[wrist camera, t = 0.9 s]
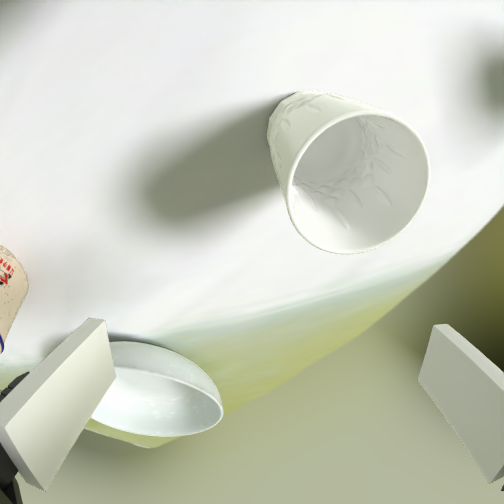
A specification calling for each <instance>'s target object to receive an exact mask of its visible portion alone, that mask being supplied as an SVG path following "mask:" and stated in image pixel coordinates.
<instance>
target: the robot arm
mask: <svg viewBox="0 0 504 504" xmlns="http://www.w3.org/2000/svg"><path fill="white" fill-rule="evenodd" d="M115 378H116V374H115V369H114V365H113V360H112V355H111V350H110V345H109V339H108V334H107V328H106V322H105V320H103V319H95V318H88V319H87V320H86V321H85V322H84V323H83V324H82V325H80V326H79V327H78V328H77V329H76V330H75V331H74V332H73V333H72V334H70V335H69V336H68V337H67V338H66V339H65V340H64V341H63V342H62V343H61V344H60V345H59V346H57V347H56V348H55V349H54V350H53V351H52V352H51V353H50V354H49V355H48V356H47V357H46V358H45V359H44V360H43V361H42V362H41V363H39V364H38V365H37V366H36V367H35V368H34V369H33V370H32V371H31V372H26V373H24V374H22V375H21V376H19V377H17V378H15V379H14V380H13V381H12V382H11V383H10V384H9V385H8V388H5V389H4V390H3V391H2V392H1V395H0V504H23V503H22V499H21V494H20V490H19V485H18V483H17V480H16V479H15V475H16V474H17V472H18V471H19V473H20V474H21V475H22V477H23V478H24V480H25V481H26V482H27V483H28V484H30V485H33V486H35V487H37V488H39V489H41V490H43V491H45V492H46V490H47V488H48V487H49V485H50V483H51V481H52V480H53V478H54V476H55V475H56V473H57V471H58V469H59V468H60V466H61V464H62V463H63V461H64V459H65V458H66V456H67V454H68V453H69V451H70V449H71V448H72V446H73V444H74V443H75V441H76V440H77V438H78V436H79V435H80V433H81V431H82V430H83V428H84V427H85V425H86V424H87V422H88V420H89V419H90V417H91V416H92V414H93V412H94V411H95V409H96V408H97V406H98V405H99V403H100V401H101V400H102V398H103V397H104V395H105V394H106V392H107V391H108V389H109V387H110V386H111V384H112V383H113V381H114V380H115ZM418 381H419V383H420V384H421V385H422V387H423V388H424V389H425V391H426V392H427V393H428V395H429V396H430V398H431V399H432V400H433V401H434V403H435V404H436V406H437V407H438V409H439V410H440V411H441V413H442V414H443V416H444V417H445V418H446V420H447V421H448V423H449V424H450V426H451V427H452V428H453V430H454V431H455V433H456V434H457V436H458V437H459V438H460V440H461V442H462V443H463V444H464V446H465V447H466V449H467V450H468V452H469V453H470V455H471V456H472V458H473V459H474V461H475V462H476V464H477V465H478V467H479V469H480V470H481V472H482V473H483V475H484V476H485V478H486V479H487V481H488V483H489V484H490V483H492V482H494V481H496V480H498V479H500V478H501V477H503V476H504V373H503V372H502V371H501V370H500V369H499V368H498V367H497V366H496V365H495V364H493V363H492V362H491V361H490V360H489V359H488V358H487V357H485V356H484V355H483V354H482V353H481V352H480V351H479V350H478V349H476V348H475V347H474V346H473V345H472V344H471V343H469V342H468V341H467V340H466V339H465V338H464V337H462V336H461V335H460V334H459V333H458V332H456V331H455V330H454V329H453V328H451V327H450V326H449V325H448V324H441V325H433V329H432V334H431V337H430V341H429V344H428V348H427V352H426V355H425V359H424V362H423V365H422V368H421V371H420V375H419V377H418ZM501 491H504V485H503V487H502V490H501Z"/></svg>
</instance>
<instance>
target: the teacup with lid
mask: <svg viewBox="0 0 504 504" xmlns="http://www.w3.org/2000/svg"><path fill="white" fill-rule="evenodd" d="M27 291H28V280H27V276H26V273H25V271H24V269H23V267H22V266H21V264H20V263H19V261H18V260H17V259H16V258H15V257H14V256H13V255H12V254H11V253H10V252H9V251H8V250H7V249H5V248H4V247H2V246H0V354H1V353H2V352H3V350H4V342H5V339H6V337H7V335H8V332H9V330H10V328H11V326H12V323H13V321H14V319H15V317H16V315H17V313H18V310H19V308H20V306H21V304H22V302H23V300H24V298H25V296H26V294H27Z"/></svg>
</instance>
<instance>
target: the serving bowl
mask: <svg viewBox="0 0 504 504" xmlns="http://www.w3.org/2000/svg"><path fill="white" fill-rule="evenodd" d="M109 345H110V350H111V355H112V360H113V365H114V369H115V374H116V378H115V380H114V381H113V383H112V384H111V386H110V387H109V389H108V391H107V392H106V394H105V395H104V397H103V398H102V400H101V401H100V403H99V405H98V406H97V408H96V409H95V411H94V412H93V414H92V416H91V417H90V418H92V419H94V420H96V421H98V422H100V423H102V424H105V425H107V426H110V427H113V428H116V429H119V430H123V431H127V432H131V433H136V434H142V435H150V436H183V435H190V434H195V433H198V432H202V431H205V430H207V429H209V428H211V427H213V426H215V425H216V424H217V423H218V422H219V421H220V420H221V419H222V417H223V406H222V402H221V398H220V395H219V392H218V390H217V388H216V386H215V384H214V383H213V381H212V380H211V378H210V377H209V376H208V375H207V374H206V373H205V372H204V371H203V370H202V369H201V368H200V367H199V366H198V365H196V364H195V363H194V362H192V361H191V360H189V359H187V358H186V357H184V356H182V355H180V354H178V353H175V352H173V351H170V350H168V349H165V348H162V347H158V346H154V345H150V344H145V343H139V342H127V341H119V342H109Z"/></svg>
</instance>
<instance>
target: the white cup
mask: <svg viewBox="0 0 504 504" xmlns="http://www.w3.org/2000/svg"><path fill="white" fill-rule="evenodd" d="M267 140H268V143H269V146H270V153H271V158H272V162H273V166H274V169H275V172H276V175H277V178H278V182H279V185H280V188H281V191H282V194H283V197H284V200H285V204H286V207H287V210H288V214H289V216H290V219H291V221H292V223H293V225H294V227H295V228H296V230H297V231H298V233H299V234H300V235H301V236H302V237H303V238H304V239H305V240H306V241H308V242H309V243H310V244H312V245H313V246H315V247H317V248H319V249H321V250H324V251H327V252H330V253H335V254H357V253H363V252H367V251H370V250H373V249H376V248H378V247H380V246H382V245H384V244H386V243H388V242H389V241H391V240H392V239H394V238H395V237H397V236H398V235H399V234H400V233H401V232H403V231H404V230H405V229H406V228H407V227H408V225H409V224H410V223H411V222H412V221H413V219H414V218H415V217H416V215H417V214H418V212H419V210H420V209H421V207H422V205H423V203H424V200H425V198H426V195H427V191H428V187H429V182H430V162H429V156H428V152H427V149H426V147H425V144H424V142H423V140H422V139H421V137H420V136H419V134H418V133H417V132H416V130H415V129H414V128H413V127H412V126H411V125H410V124H408V123H407V122H406V121H405V120H403V119H401V118H400V117H398V116H396V115H394V114H391V113H389V112H386V111H384V110H381V109H378V108H376V107H373V106H371V105H368V104H365V103H363V102H360V101H357V100H354V99H351V98H347V97H343V96H340V95H337V94H331V93H326V92H323V91H320V90H316V91H299V92H297V93H295V94H293V95H291V96H289V97H287V98H286V99H284V100H282V101H281V102H280V103H279V105H278V106H277V107H276V109H275V110H274V112H273V113H272V115H271V116H270V117H269V123H268V130H267Z"/></svg>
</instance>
